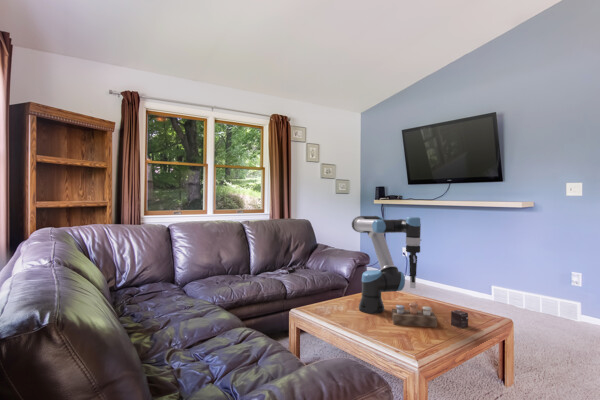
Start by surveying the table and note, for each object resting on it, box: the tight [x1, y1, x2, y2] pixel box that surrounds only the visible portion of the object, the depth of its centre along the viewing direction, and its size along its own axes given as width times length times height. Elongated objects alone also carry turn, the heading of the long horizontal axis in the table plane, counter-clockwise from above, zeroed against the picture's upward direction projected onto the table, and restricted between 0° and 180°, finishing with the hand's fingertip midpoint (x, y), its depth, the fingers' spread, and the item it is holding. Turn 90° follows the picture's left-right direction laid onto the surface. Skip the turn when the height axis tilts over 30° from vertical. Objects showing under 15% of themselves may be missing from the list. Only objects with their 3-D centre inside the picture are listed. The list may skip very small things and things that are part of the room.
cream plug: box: [422, 305, 432, 315], centre depth 180 cm, size 5×5×8 cm
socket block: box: [391, 308, 438, 328], centre depth 181 cm, size 22×11×5 cm, turn 79°
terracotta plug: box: [408, 302, 419, 315], centre depth 181 cm, size 5×5×8 cm
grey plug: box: [395, 304, 406, 314], centre depth 183 cm, size 5×5×8 cm
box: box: [450, 309, 469, 329], centre depth 177 cm, size 6×6×7 cm
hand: (412, 287), depth 183 cm, fingers closed
